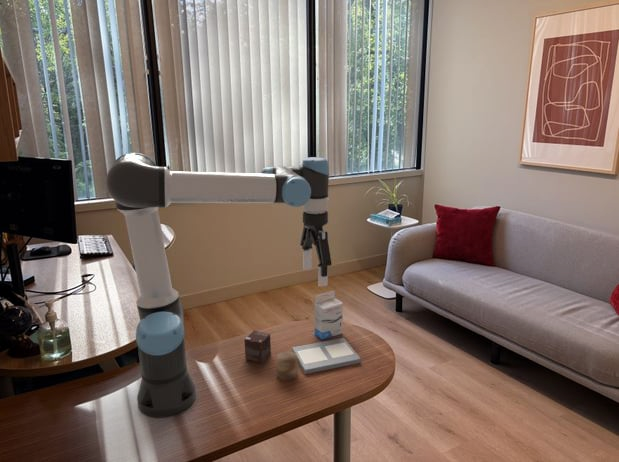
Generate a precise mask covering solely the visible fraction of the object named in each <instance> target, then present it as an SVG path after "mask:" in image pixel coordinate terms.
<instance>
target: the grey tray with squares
mask: <svg viewBox="0 0 619 462" xmlns="http://www.w3.org/2000/svg"><path fill="white" fill-rule="evenodd" d="M291 352H293V353H295V354H296V355H297V364H298V365H299V366H300V367H301V370H302V372H303V373H304V375H308V374H312V373H317V372H322V371H328V370H333V369H336V368H337V369H338V368H342V367H347V366H351V365H357V364H361V363H362V361H361V360H362V359H361V357H360V356H359V354H358V352H356V351H355V349H353V347H352V346H351V345H350V344H349V342H348V341H347V339H346V338H344V337H340V338H336V339H331V340H330V339H329V340H325V341H320V342H315V343H308V344H304V345H303V344H302V345H299V346H292V348H291Z"/></svg>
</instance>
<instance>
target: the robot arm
mask: <svg viewBox="0 0 619 462" xmlns="http://www.w3.org/2000/svg"><path fill="white" fill-rule="evenodd" d="M301 163H302V164H300V165H290V166H289V165H288V166H284V165H283V166H276V165H275V166H269V167H264V168H262V170H261V172H260V173H259V172H258V173H256V172H255V173H254V172H253V173H251V172H247V173H246V172H217V171H216V172H212V171H211V172H209V171H208V172H207V171H204V172H203V171H201V172H200V171H171V170H170V169H169V168H168V167H167V166H157V164H156V163H155V161H154V160H153V159H152V158H150V157H149V156H147V155H145V154H143V153H140V152H139V153H138V152H130V153H129V152H128V153H126V154H123V155H120V156H119V157H118V158H117V159H115V160H114V162H113V164H112V165H111V167H110V169H108V172H107V173H106V174H107V175H106V179H105V186H106V190H107V192H108V195H109V196H110V197H111V198H112V199H113V200H114V202H115V206H116V210H117V211H118V212H120V213H122V214H123V216H124V219H125V225H126V229H127V234H128V235H127V236H128V239H129V244H130V249H131V254H132V258H133V263H134V268H135V273H136V279H137V283H138V288H139V293H140V295H139V296H138V298H136V307H137V312H138V316H139V322H138V324H137V326H136V328H135V341H136V344H137V350H138V351H137V352H138V358H139V366H140V367H139V368H140V373H141V374H140V375H141V380H140V385H139V389H138V393H137V396H136V398H137V399H136V400H137V406H138V407H137V408H138V410H139V411H140V412H141V414H143V415H145V416H148V417H151V418H166V417H172V416H175V415H177V414H180V413H182V412H184V411H185V410H187V409H188V408H190V406H192V405H193V403H194V402H195V401H196V397H197V391H196V390H197V389H196V385H195V384H196V383H194V380H193V379H192V376H191V374H190V373H189V370H188V365H187V355H186V343H185V327H184V326H185V325H184V316H185V314H184V310H183V306H182V303H181V300H180V298H181V297H180V293H179V292H178V291H177V290H176V289H175V288H173V286H172V285H173V284H172V280H171V274H170V269H169V268H170V267H169V264H168V258H167V252H166V245H165V242H164V235H163V230H162V225H161V220H160V219H161V218H160V213H159V208H168V206H170V205H171V204H286V205H287V206H290V207H295V208H301V207H302V223H303V229H302V234H301V239H300V243H299V245H300V246H301V247H302V248H301V249H302V270H303V271H307V270H312V267H313V266H312V265H313V264H312V263H313V260H312V259H313V253H312V252H313V250H312V249H313V246H314V247H315V250H316V254H317V259H318V262H319V264H317V267H318V272H317V273H318V275H317V276H318V279H317V281H318V282H317V286H318V287H320V288H321V287H326V286H328V284H329V283H328V282H329V275H328V274H329V267H330V266H333V265H332V264H333V263H332V257H331V252H330V246H329V239H328V234H329V233H328V231H324V226H325V225H327V224H328V223H329V212H328V209H329V202H330V198H329V178H330V177H329V176H330V170H329V169H330V168H329V167H330V166H329V161H328V160H327V158H325V157H321V156H320V157H317V156H316V157H315V156H314V157H313V156H310V157H305V158H303V159H302V162H301Z"/></svg>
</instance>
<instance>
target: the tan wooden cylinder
mask: <svg viewBox="0 0 619 462" xmlns="http://www.w3.org/2000/svg"><path fill="white" fill-rule="evenodd" d="M298 366H299V364H298V361H297V355H296V354H295V353H293V352H292V351H282V352H280V353H278V354H277V356H276V367H277V368H276V376H277V378H278V379H279V380H281V381H285V382H290V381H293V380H296V379H297V378H298V374H299V373H298V370H299V369H298Z"/></svg>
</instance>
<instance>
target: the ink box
mask: <svg viewBox="0 0 619 462" xmlns="http://www.w3.org/2000/svg"><path fill="white" fill-rule="evenodd" d="M335 295H336V290H335V289H333V290H330V291H327V292H323V293H318V294H316V295H315V300H314V301H315V303H314V336H316V337H317V338H319V339H321V340H322V341H323V340H326V339H329V338H331V337H335V336H338V335H341V334H342V333H343V312H344V311H343V308H344V304H343V303H344V302H342V301H340V300H339V299H337V298H335Z"/></svg>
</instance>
